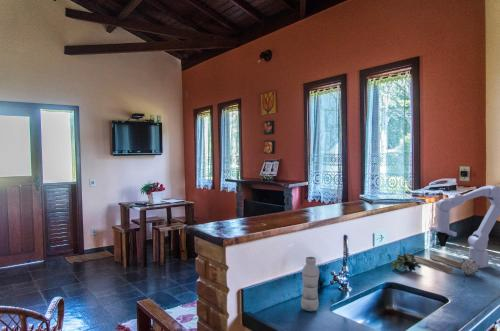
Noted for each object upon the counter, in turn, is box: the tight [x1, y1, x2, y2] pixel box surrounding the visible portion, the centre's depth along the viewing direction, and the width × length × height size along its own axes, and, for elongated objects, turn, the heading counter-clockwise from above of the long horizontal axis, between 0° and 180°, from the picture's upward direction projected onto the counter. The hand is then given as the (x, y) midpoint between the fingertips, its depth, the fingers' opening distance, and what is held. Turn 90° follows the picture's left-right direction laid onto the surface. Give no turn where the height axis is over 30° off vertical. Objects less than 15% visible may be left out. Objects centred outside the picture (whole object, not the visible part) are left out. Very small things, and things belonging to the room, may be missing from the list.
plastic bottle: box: [300, 256, 320, 312], centre depth 139 cm, size 6×7×20 cm
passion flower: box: [390, 252, 422, 274], centre depth 186 cm, size 11×11×12 cm
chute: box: [413, 252, 463, 274], centre depth 197 cm, size 14×22×3 cm, turn 25°
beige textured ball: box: [458, 258, 480, 277], centre depth 182 cm, size 9×8×10 cm
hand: (442, 246), depth 200 cm, fingers closed
